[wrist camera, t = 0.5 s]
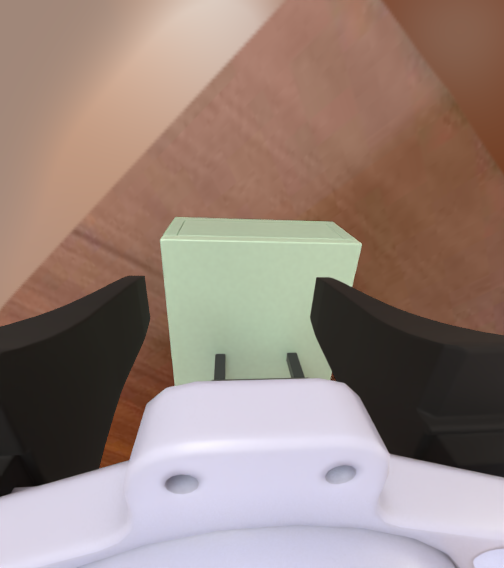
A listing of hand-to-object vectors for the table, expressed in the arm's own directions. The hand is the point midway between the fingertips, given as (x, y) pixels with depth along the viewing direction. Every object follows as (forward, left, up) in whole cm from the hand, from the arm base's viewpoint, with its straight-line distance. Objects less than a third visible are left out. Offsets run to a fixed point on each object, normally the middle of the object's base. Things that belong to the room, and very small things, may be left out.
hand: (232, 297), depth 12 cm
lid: (-6, -2, -6) cm, 8 cm away
